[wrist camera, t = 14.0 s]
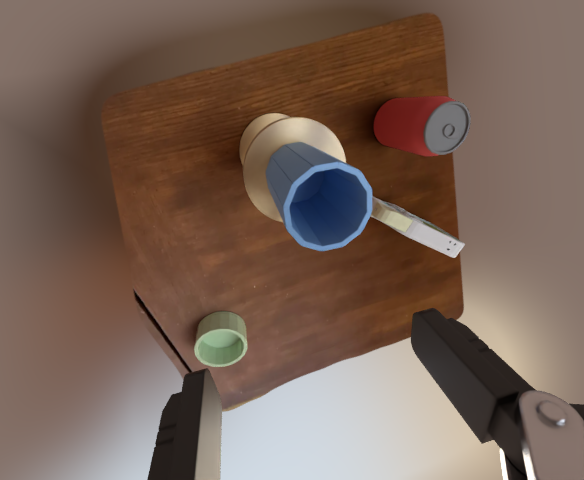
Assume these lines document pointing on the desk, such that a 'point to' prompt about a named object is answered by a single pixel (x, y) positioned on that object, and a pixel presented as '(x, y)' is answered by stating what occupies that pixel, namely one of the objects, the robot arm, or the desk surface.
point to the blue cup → (318, 196)
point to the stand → (268, 139)
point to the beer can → (422, 124)
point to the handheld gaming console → (415, 227)
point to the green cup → (221, 339)
